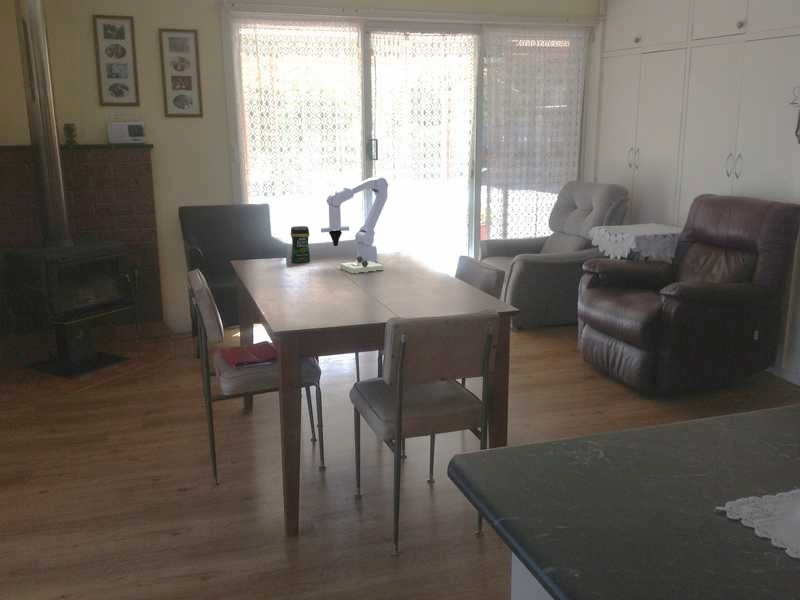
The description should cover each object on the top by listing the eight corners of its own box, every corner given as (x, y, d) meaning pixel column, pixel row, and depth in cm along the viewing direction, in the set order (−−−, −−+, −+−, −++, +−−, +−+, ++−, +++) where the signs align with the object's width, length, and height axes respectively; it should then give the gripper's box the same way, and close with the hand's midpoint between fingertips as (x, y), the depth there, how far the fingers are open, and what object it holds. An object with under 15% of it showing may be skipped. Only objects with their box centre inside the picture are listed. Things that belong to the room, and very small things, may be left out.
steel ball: (350, 269, 353) (355, 270, 355) (353, 270, 350) (359, 271, 352) (351, 262, 352) (356, 263, 354) (355, 263, 350) (360, 264, 352)
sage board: (369, 265, 364) (369, 260, 364) (383, 270, 352) (383, 265, 351) (340, 268, 357) (340, 263, 356) (353, 273, 344) (352, 268, 344)
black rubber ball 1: (361, 261, 362) (361, 255, 361) (363, 262, 359) (363, 256, 358) (355, 262, 360) (355, 256, 360) (358, 262, 358) (358, 256, 357)
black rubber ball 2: (366, 265, 350) (366, 259, 349) (369, 266, 347) (368, 260, 347) (360, 266, 349) (360, 260, 348) (363, 267, 346) (363, 261, 345)
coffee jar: (292, 263, 371) (291, 227, 367) (290, 261, 378) (289, 225, 374) (311, 262, 374) (310, 226, 369) (309, 260, 381) (307, 224, 377)
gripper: (324, 220, 354) (325, 248, 357) (351, 218, 361) (352, 245, 364) (319, 218, 360) (319, 246, 363) (345, 217, 367) (346, 243, 370)
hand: (335, 245), depth 364 cm, fingers closed
